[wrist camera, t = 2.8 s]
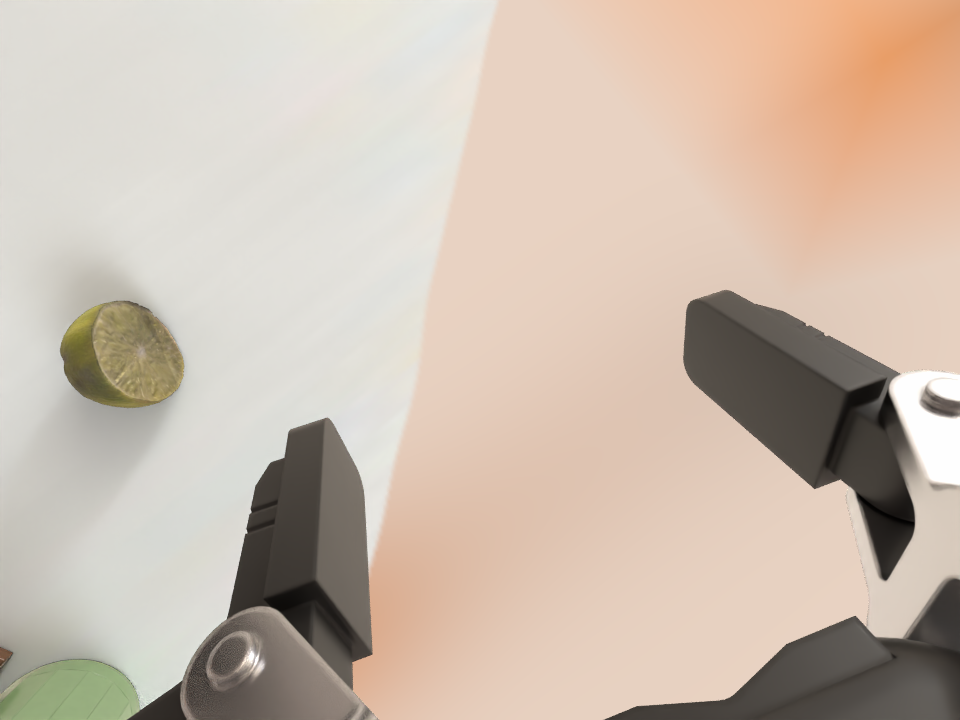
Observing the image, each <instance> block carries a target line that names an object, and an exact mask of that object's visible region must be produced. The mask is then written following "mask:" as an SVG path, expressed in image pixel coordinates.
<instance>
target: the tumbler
mask: <svg viewBox="0 0 960 720" xmlns="http://www.w3.org/2000/svg"><path fill="white" fill-rule="evenodd" d="M139 711H140V708H139V700H138V697H137V693H136V691H135V689H134V687H133V686H132V684H131V683H130V681H129V680H128V679H127V678H126V677H125V676H124V675H123V674H122V673H120V672H119V671H118V670H116V669H115V668H113V667H111V666H109V665H106V664H104V663H101V662H96V661H92V660H83V659H73V660H64V661H59V662H54V663H50V664H47V665H44V666H41V667H39V668H37V669H35V670H32V671H31V672H29V673H27V674H25V675H23V676H22V677H20V678H19V679H18V680H16V681H15V682H13V683H12V684H11V685H10V686H9V687H8V688H7V689H6V690H4V691H3V692H2V693H1V694H0V720H127V719H129V718H130V717H131V716H133V715H134V714H136V713H137V712H139Z"/></svg>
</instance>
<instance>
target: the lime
mask: <svg viewBox="0 0 960 720" xmlns="http://www.w3.org/2000/svg"><path fill="white" fill-rule="evenodd" d="M60 353H61V356H62V358H63V360H64V371H65V374H66V376H67V378H68V380H69V382H70V383H71V385H72V386H73V387H74V388H75V389H76V390H77V391H78V392H79V393H80V394H82V395H83V396H84V397H86V398H88V399H91V400H93V401H95V402H98V403H101V404H104V405H109V406H115V407H125V408H136V407H143V406H149V405H152V404H155V403H158V402H161V401H162V400H164V399H166V398H167V397H169V396H170V395H171V394H172V393H174V392H175V391H176V390H177V389H178V387H179V386H180V383H181V380H182V378H183V376H184V375H183V372H184V371H183V369H184V362H183V358H182V355H181V353H180V351H179V348H178V346H177V344H176V342H175V340H174V338H173V337H172V336H171V334H170V332H169V331H168V329H167V328H166V327H165V326H164V325H163V324H162V323H161V322H160V321H159V320H158V319H157V318H156V317H154V316H153V315H152V312H151V311H150V310H149V309H147V308H145V307H143V306H139V305H138V304H137V303H133V302H130V301H114V302H110V303H104V304H101V305H98V306H95V307H93V308H91V309H89V310H88V311H86V312H85V313H83V314H82V315H81V316H80V317H78V319H77V320H75V321H74V322H73V324H72V325H71V326H70V327H69V329H68V330H67V332H66V333H65V335H64V337H63V340H62V343H61V347H60Z"/></svg>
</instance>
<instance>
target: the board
mask: <svg viewBox="0 0 960 720" xmlns="http://www.w3.org/2000/svg"><path fill="white" fill-rule="evenodd" d="M11 655H12V652H10V651H8V650H5V649H3V648H1V647H0V669H1V667H2V666H3V665H4V664H5V663H6V661H7V660H8V659H9V658H10V656H11Z"/></svg>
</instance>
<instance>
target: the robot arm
mask: <svg viewBox="0 0 960 720" xmlns="http://www.w3.org/2000/svg"><path fill="white" fill-rule="evenodd" d="M683 360H684V366H685V369H686V371H687V374H688V376H689V378H690V379H691V381H693V383H694V384H695V385H696V386H697V387H698V388H699V389H701V390H702V391H703V392H704V393H705V394H706V395H707V396H709V397H710V398H711V399H712V400H713V401H714V402H716V403H717V404H718V405H719V406H720V407H721V408H722V409H723V410H725V411H726V412H727V413H728V414H729V415H730V416H732V417H733V418H734V419H735V420H736V421H737V422H738V423H740V424H741V425H742V426H743V427H744V428H745V429H746V430H748V431H749V432H750V433H751V434H752V435H753V436H754V437H756V438H757V439H758V440H759V441H760V442H761V443H762V444H764V445H765V446H766V447H767V448H768V449H770V450H771V451H772V452H773V453H774V454H775V455H776V456H777V457H778V458H780V459H781V460H782V461H783V462H784V463H785V464H786V465H788V466H789V467H790V468H792V470H793V471H795V472H796V473H797V474H798V475H799V476H800V477H801V478H803V479H804V480H805V481H806V482H807V483H808V484H809V485H811V486H812V487H813V488H814V489H816V488H819V487H821V486H824V485H827V484H829V483H832V482H835V481H837V480H840V479H841V480H842V481H843V482H844V483H846V484H847V485H848V486H849V488H848V490H847V493H846V503H847V506H848V511H849V515H850V519H851V523H852V527H853V531H854V535H855V539H856V543H857V547H858V551H859V555H860V559H861V564H862V568H863V572H864V575H865V579H866V584H867V588H868V596H869V607H868V608H869V609H868V615H867V626H865V625H864V624H863V623H862V622H861V621H860V620H859V619H858V618H857V617H856V616H854V617H851V618H849V619H846V620H844V621H841V622H839V623H837V624H834V625H832V626H829V627H827V628H824V629H822V630H820V631H817V632H815V633H812V634H810V635H808V636H805V637H803V638H800V639H798V640H796V641H793V642H791V643H788V644H786V645H785V646H784V647H783V648H782V649H781V650H780V651H779V652H778V653H777V654H776V655H775V656H774V657H773V658H772V659H771V660H770V661H769V662H768V663H766V664H765V665H764V667H762V669H760V670H759V671H758V672H757V673H756V674H755V675H754V676H753V677H752V678H751V679H750V680H749V681H748V682H747V683H746V684H745V685H744V686H743V687H742V688H740V689H739V690H738V691H737V692H736V693H735V694H734V695H733V696H731V697H730V698H728V699H725V700H720V701H707V702H692V703H678V704H664V705H649V706H636V707H634V708H631V709H629V710H627V711H624V712H622V713H619V714H617V715H615V716H612V717H610V718H607V719H605V720H960V374H956V373H951V372H945V371H936V370H917V371H910V372H906V373H903V374H900V373H898V372H896V371H894V370H892V369H891V368H889V367H887V366H885V365H883V364H881V363H879V362H878V361H876V360H874V359H872V358H870V357H868V356H866V355H864V354H863V353H861V352H859V351H857V350H855V349H853V348H851V347H849V346H847V345H846V344H844V343H842V342H840V341H838V340H836V339H834V338H832V337H831V336H825V335H824V333H823V332H821V331H819V330H817V329H815V328H813V327H812V326H806V324H805V323H804V322H802V321H800V320H799V319H797V318H795V317H793V316H791V315H789V314H787V313H785V312H783V311H780V310H776V309H772V308H769V307H765V306H761V305H758V304H754V303H752V302H750V301H748V300H747V299H745V298H743V297H741V296H739V295H737V294H736V293H734V292H732V291H729V290H724V291H720V292H717V293H714V294H711V295H708V296H705V297H701V298H699V299H695V300H693V301H691V302H690V303H689V304H688V307H687V311H686V326H685V340H684V356H683ZM251 511H252V513H251V514H250V515H249V519H248V524H247V532H248V533H247V534H245V538H244V543H243V548H242V552H241V557H240V562H239V566H238V571H237V576H236V580H235V585H234V590H233V595H232V599H231V604H230V609H229V613H228V617H227V620H225V621H224V622H222V623H221V624H220V625H219V626H218V627H217V628H215V629H214V630H213V631H212V632H211V633H210V634H209V636H208V637H207V638H206V639H205V640H204V641H203V643H202V644H201V645H200V646H199V648H198V649H197V651H196V652H195V654H194V655H193V657H192V659H191V661H190V663H189V665H188V667H187V669H186V672H185V675H184V677H183V681H181V682H180V683H179V684H177V685H176V686H175V687H173V688H172V689H171V690H169V691H168V692H166V693H165V694H163V695H162V696H160V697H159V698H157V699H156V700H155V701H153V702H152V703H150V704H149V705H147V706H146V707H144V708H143V709H142V710H140V711H139V712H137V713H136V714H134V715H133V716H131V717H130V718H129V719H127V720H378V718H377V717H376V716H375V715H374V714H373V713H372V712H371V711H370V710H369V708H368V707H367V706H366V705H365V704H364V703H363V702H362V701H361V700H360V699H359V698H358V696H357V695H356V694H355V693H354V692H353V675H352V662H354V661H356V660H359V659H362V658H364V657H367V656H370V655H372V635H371V615H370V596H369V576H368V557H367V538H366V518H365V499H364V490H363V485H362V481H361V478H360V475H359V472H358V470H357V468H356V466H355V464H354V462H353V460H352V458H351V456H350V454H349V452H348V451H347V449H346V447H345V445H344V443H343V441H342V439H341V437H340V435H339V434H338V432H337V430H336V428H335V426H334V424H333V423H332V421H331V420H330V419H329V418H324V419H321V420H318V421H315V422H312V423H309V424H306V425H303V426H300V427H297V428H294V429H291V430H290V431H289V433H288V439H287V445H286V452H285V458H283V459H280V460H277V461H274V462H271V463H270V464H269V466H268V467H267V469H266V470H265V472H264V474H263V475H262V477H261V478H260V480H259V481H258V483H257V485H256V487H255V491H254V496H253V501H252V505H251Z"/></svg>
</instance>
